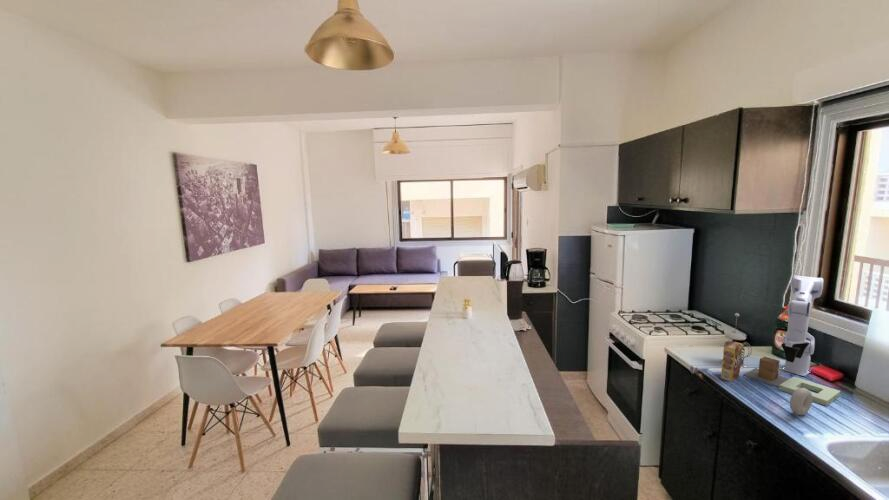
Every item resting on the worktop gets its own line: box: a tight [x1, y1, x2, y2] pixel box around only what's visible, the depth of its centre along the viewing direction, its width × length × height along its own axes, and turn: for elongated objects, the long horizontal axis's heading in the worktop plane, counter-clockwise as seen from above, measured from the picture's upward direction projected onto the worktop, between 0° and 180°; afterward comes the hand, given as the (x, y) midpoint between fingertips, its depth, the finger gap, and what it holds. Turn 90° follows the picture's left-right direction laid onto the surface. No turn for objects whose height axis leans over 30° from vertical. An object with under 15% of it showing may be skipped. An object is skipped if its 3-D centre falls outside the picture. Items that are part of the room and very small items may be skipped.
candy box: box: [720, 341, 744, 382], centre depth 157 cm, size 9×4×15 cm, turn 123°
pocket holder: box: [778, 375, 841, 406], centre depth 145 cm, size 14×14×2 cm
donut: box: [789, 387, 813, 416], centre depth 130 cm, size 10×4×10 cm, turn 114°
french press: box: [719, 312, 753, 369], centre depth 169 cm, size 10×12×25 cm
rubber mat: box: [743, 367, 790, 388], centre depth 157 cm, size 12×12×1 cm
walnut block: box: [758, 356, 780, 381], centre depth 157 cm, size 5×5×8 cm
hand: (793, 359), depth 152 cm, fingers open, 7 cm apart
